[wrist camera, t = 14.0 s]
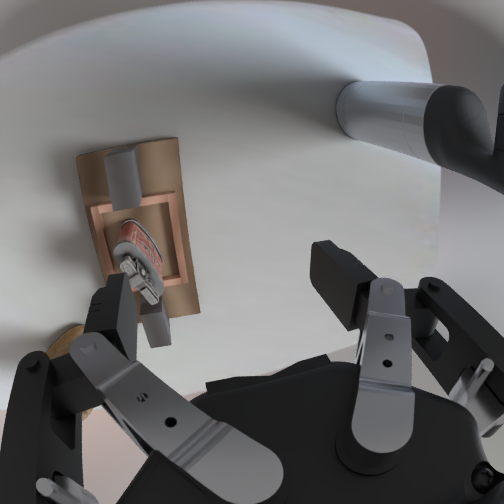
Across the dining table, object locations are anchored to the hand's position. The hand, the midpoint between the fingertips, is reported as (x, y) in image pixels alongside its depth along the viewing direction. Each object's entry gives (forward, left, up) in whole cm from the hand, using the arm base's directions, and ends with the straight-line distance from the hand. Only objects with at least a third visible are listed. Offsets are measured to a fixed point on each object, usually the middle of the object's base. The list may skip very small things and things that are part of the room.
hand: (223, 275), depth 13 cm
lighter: (+7, +10, -27) cm, 29 cm away
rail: (+7, +10, -28) cm, 31 cm away
